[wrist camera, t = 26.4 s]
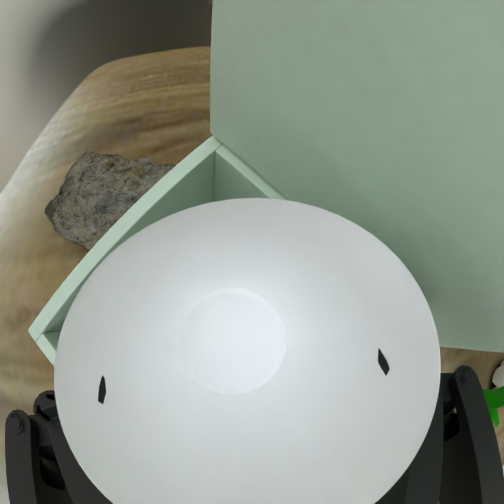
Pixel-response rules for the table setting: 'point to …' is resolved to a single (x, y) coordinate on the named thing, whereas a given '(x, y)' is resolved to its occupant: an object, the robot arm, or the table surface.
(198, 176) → the chest
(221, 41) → the lid
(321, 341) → the cup
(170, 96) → the table surface
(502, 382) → the water bottle
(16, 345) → the table surface
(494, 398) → the flower
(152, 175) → the stone
